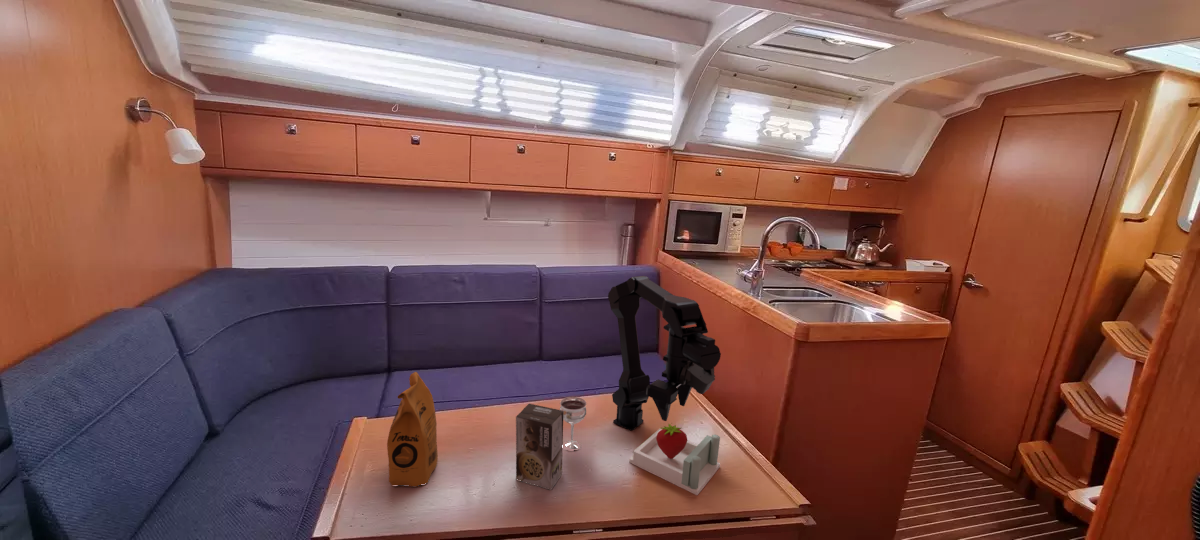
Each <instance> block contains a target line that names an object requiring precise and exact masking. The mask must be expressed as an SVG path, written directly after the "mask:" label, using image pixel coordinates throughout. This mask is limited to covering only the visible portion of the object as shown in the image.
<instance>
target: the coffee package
mask: <svg viewBox="0 0 1200 540" xmlns="http://www.w3.org/2000/svg"><path fill="white" fill-rule="evenodd" d="M408 379H409V381H408V382H409V387H408V388H407V389H405V390H404V391H403V392H401V393H400V394H398V395H397V399H400V402H399V404H398V407H397V409H396V413H395V414H394V418H393V419H392V422H391V425H390V428H389V433H388V436H387V442H386V449H387V458H388V459H387V460H388V482H389V484H390V485H391V486H392V485H409V486H408V487H412V486H418V485H421V484H425V483H427V482H428V483H429V481H430V478H431V475H432V473H433V472H434V471H435V470H436V467H437V465H438V460H439V458H438V457H439V455H438V442H437V441H438V440H437V424H438V423H437V417H436V414H437V413H436V408H435V402H434V398H433V395H432V393H431V390H430V389H429V387H428V386H427V385H426V383H425V382H424V380H423V379H422V378H421V376H420V375H419V373H418V372H417V371H414V372H412V373H411V374H410V375H409V378H408ZM428 480H429V481H428ZM428 483H427V484H428ZM418 487H419V486H418Z"/></svg>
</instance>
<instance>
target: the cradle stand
mask: <svg viewBox="0 0 1200 540" xmlns="http://www.w3.org/2000/svg"><path fill="white" fill-rule="evenodd" d="M661 430H662V429H661V428H658V429H657V430H656V431H655V432H654V433H653V434H651V435H650V436H649V437H648V438H647V439H645V441H643V443H641V444H640V445H638V447H636V448H635V449H634V450H633V454H632V456H631V457H629V458H628V459H629V460H628V461H629V464H632V465H634V466H636V467H638V468H640V469H642V470H644V471H646V472H649V473H650V474H653V475H655V476H657V477H659V478H661V479H663V480H665V481H666V482H669V483H670V484H673V485H674V486H677V487H679V488H681V489H682V490H685V491H688V492H689V493H691V494H693V495H695V496H698V495H699V494H700V492H702V490H703V489H704V487H705V486H706V485H707V484H708V483H709V481H710V480H711V479H712V478H713V476H714V475H715V474H716V473H717V471H718V470H719V469H720V467H721V463H720V462H718V458H719V457H718V456H719V450H720V442H721V441H720V440H721V437H720V435H717V434H712V435H711V436H710V435H708V434H707V435H706V436H705V437H704V438H703V439H702V440H701V441H700V442H699V443H695V442H693V441H690V440H688V439H687V443H686V446H685V448H684V449H683V450H682V451H681V452H680V453H679V454H678V455H676V456H675V457H674V458H673V459H669V458H668V457H667V456H666V455H665V454H664V453H663V452H662V450H661V449H660V448H659V446H658V443H657V440H656V437H657V434H658V432H659V431H661Z"/></svg>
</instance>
